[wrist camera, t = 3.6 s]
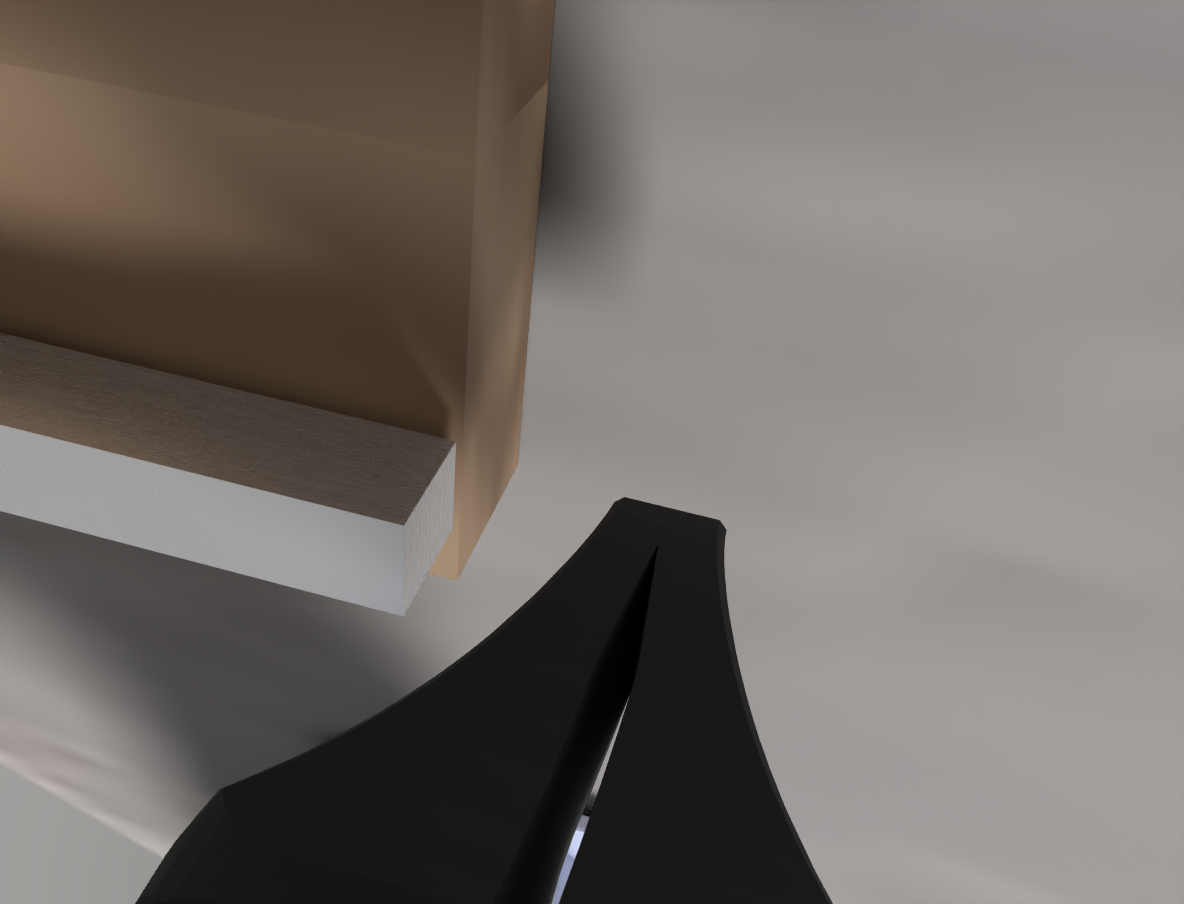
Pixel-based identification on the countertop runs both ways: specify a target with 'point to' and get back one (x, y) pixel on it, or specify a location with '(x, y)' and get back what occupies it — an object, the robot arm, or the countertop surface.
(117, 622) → the countertop surface
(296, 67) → the socket block
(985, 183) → the countertop surface
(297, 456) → the bar
